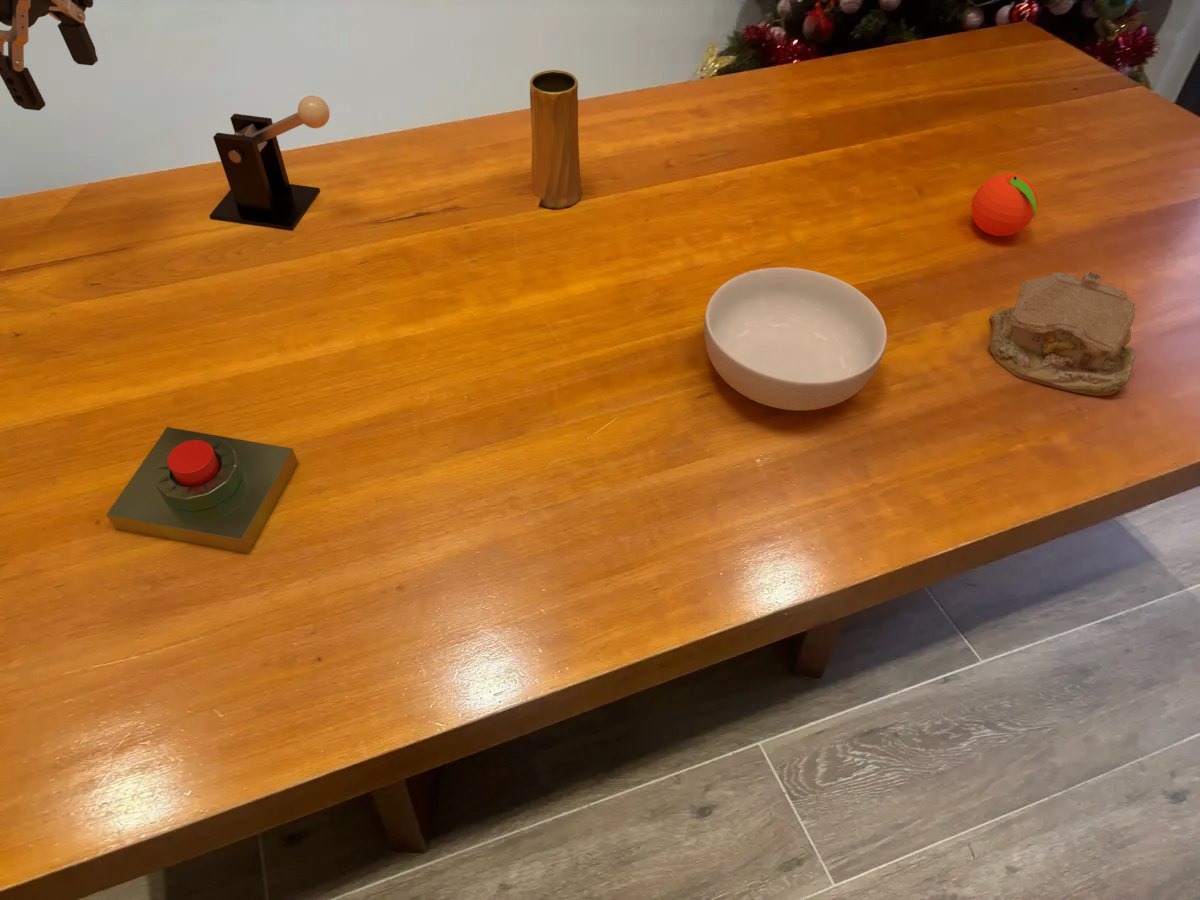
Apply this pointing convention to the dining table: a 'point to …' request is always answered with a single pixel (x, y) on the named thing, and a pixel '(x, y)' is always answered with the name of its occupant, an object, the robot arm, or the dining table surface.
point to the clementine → (1004, 205)
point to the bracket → (258, 181)
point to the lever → (291, 121)
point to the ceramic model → (1067, 334)
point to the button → (193, 463)
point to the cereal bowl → (793, 337)
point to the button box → (206, 493)
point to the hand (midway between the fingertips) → (61, 85)
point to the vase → (555, 138)
